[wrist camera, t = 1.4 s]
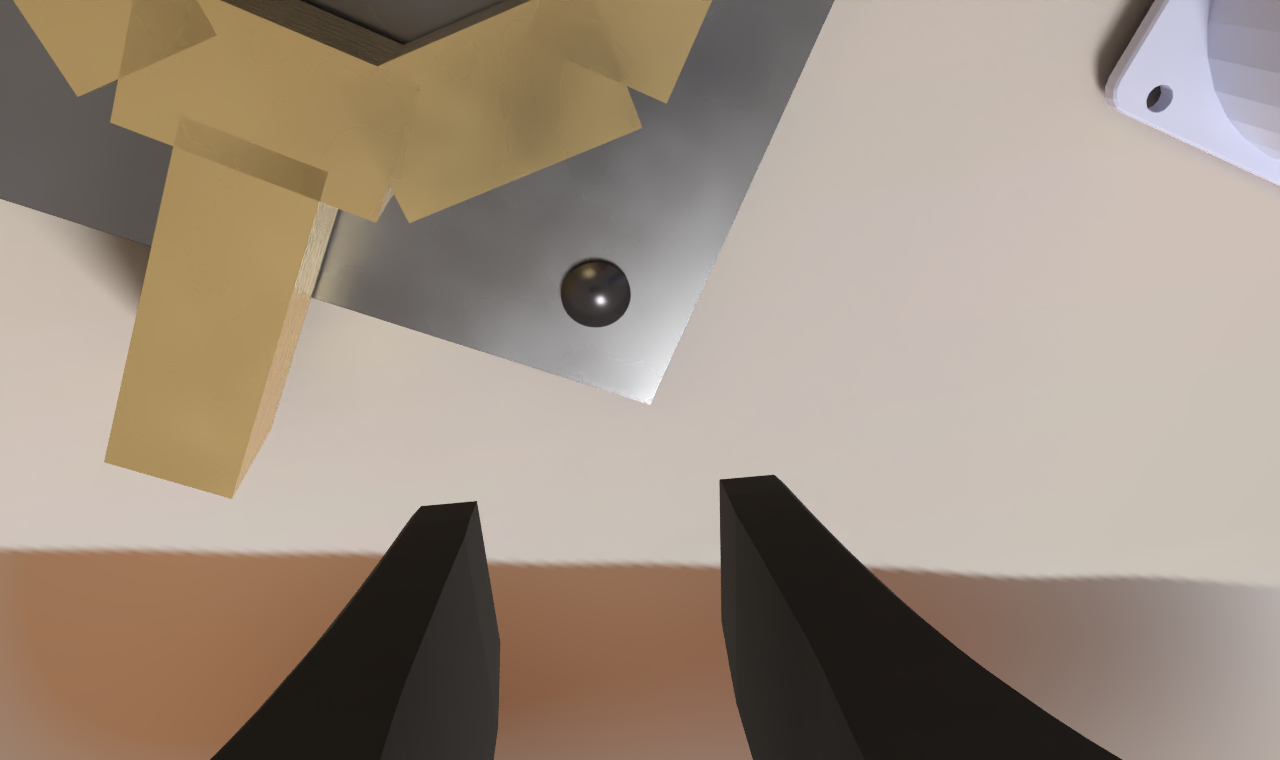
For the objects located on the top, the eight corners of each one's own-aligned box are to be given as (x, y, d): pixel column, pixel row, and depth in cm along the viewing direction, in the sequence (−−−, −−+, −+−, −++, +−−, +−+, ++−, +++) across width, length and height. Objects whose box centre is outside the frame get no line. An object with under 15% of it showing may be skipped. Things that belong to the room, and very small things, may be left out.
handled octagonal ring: (51, -939, 10) (-84, -1170, 8) (862, -416, 13) (923, -482, 11) (-84, 319, 17) (-181, 380, 15) (474, 492, 20) (463, 565, 18)
